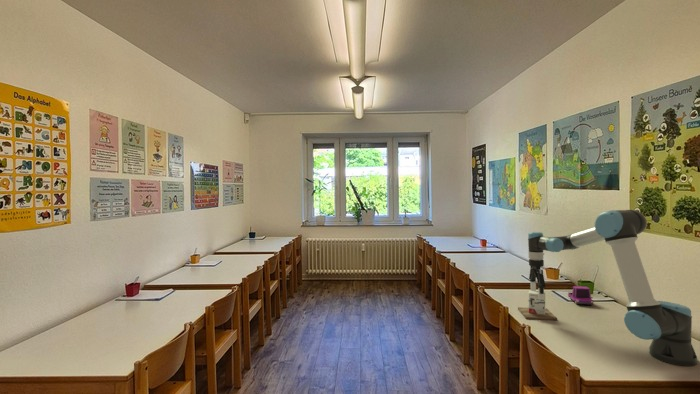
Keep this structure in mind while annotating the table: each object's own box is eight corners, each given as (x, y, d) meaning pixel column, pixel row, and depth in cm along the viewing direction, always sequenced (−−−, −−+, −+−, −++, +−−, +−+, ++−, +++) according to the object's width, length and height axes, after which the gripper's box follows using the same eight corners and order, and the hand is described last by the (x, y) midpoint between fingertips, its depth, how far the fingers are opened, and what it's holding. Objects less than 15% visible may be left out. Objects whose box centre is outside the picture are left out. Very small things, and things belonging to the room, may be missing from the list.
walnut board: (557, 320, 195) (557, 318, 195) (526, 319, 198) (526, 316, 198) (546, 310, 211) (546, 308, 211) (517, 309, 214) (517, 307, 214)
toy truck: (575, 305, 218) (575, 289, 218) (566, 298, 233) (566, 282, 233) (595, 306, 216) (594, 290, 215) (585, 298, 231) (584, 283, 231)
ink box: (528, 313, 204) (528, 292, 203) (528, 310, 208) (527, 290, 208) (545, 315, 200) (545, 294, 200) (544, 312, 205) (544, 291, 204)
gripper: (551, 263, 191) (552, 302, 191) (536, 255, 215) (537, 290, 215) (536, 263, 192) (537, 302, 192) (522, 255, 217) (523, 290, 216)
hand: (537, 296), depth 204 cm, fingers open, 13 cm apart
